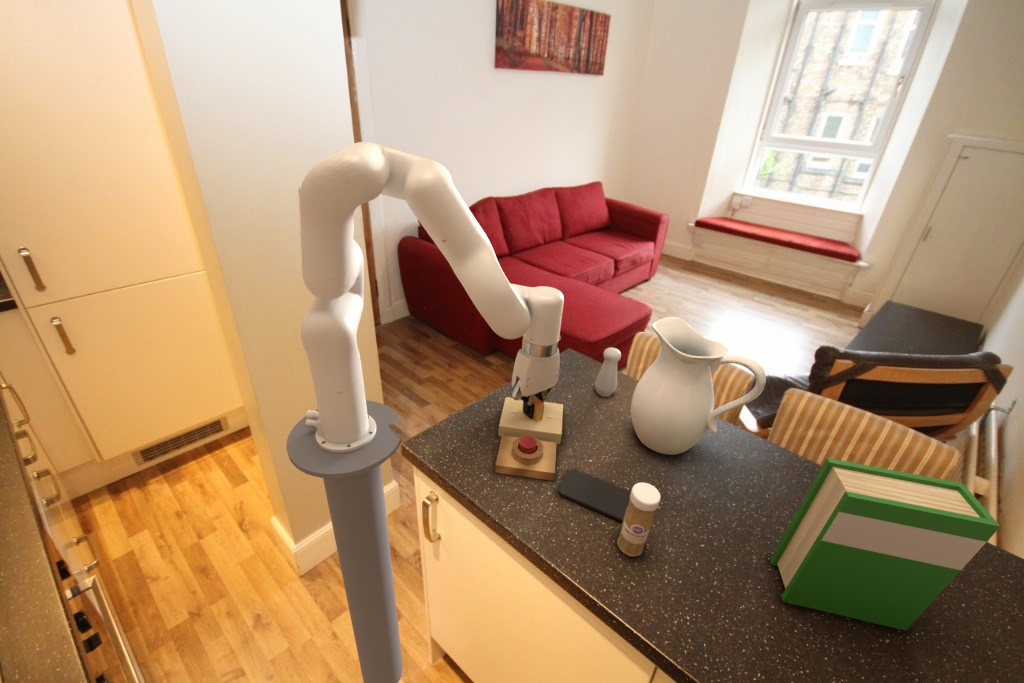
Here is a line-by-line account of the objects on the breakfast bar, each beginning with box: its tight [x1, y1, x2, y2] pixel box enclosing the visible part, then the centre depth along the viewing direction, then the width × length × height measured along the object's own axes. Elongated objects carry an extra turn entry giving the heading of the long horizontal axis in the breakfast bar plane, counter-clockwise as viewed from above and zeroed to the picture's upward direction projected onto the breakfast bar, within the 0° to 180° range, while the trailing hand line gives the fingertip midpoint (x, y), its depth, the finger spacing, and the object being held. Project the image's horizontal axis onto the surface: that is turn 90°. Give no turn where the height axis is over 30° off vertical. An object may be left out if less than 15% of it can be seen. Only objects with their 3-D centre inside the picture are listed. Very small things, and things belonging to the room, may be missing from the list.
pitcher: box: [630, 316, 767, 456], centre depth 94 cm, size 24×17×28 cm
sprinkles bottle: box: [616, 482, 662, 558], centre depth 75 cm, size 5×5×14 cm
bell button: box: [519, 436, 537, 454], centre depth 92 cm, size 4×4×2 cm
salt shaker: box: [594, 347, 622, 398], centre depth 115 cm, size 6×6×13 cm
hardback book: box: [769, 457, 1001, 631], centre depth 67 cm, size 18×7×24 cm, turn 78°
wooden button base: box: [494, 435, 557, 482], centre depth 93 cm, size 12×9×4 cm
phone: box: [558, 468, 631, 523], centre depth 87 cm, size 7×1×15 cm
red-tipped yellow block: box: [522, 395, 544, 422], centre depth 102 cm, size 6×2×5 cm, turn 35°
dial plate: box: [497, 396, 564, 445], centre depth 104 cm, size 14×11×3 cm
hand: (532, 413), depth 103 cm, fingers closed on red-tipped yellow block, 2 cm apart
